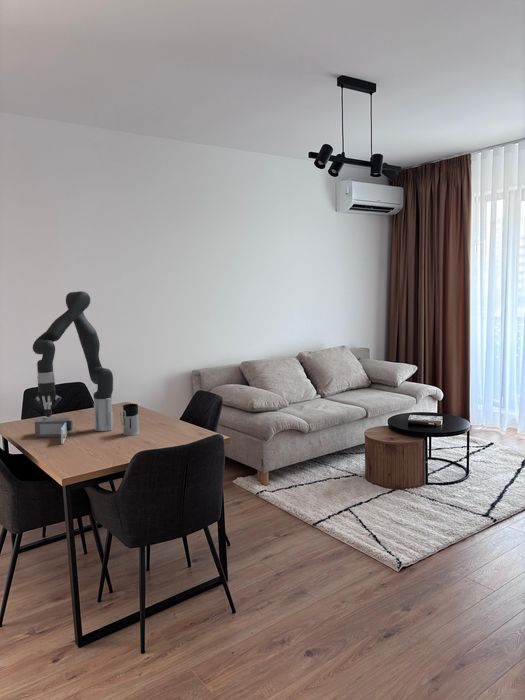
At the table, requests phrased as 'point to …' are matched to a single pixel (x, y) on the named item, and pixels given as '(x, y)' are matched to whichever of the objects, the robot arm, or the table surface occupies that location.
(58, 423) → the grey box with knob
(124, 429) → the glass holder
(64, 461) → the table surface
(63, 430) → the side door
